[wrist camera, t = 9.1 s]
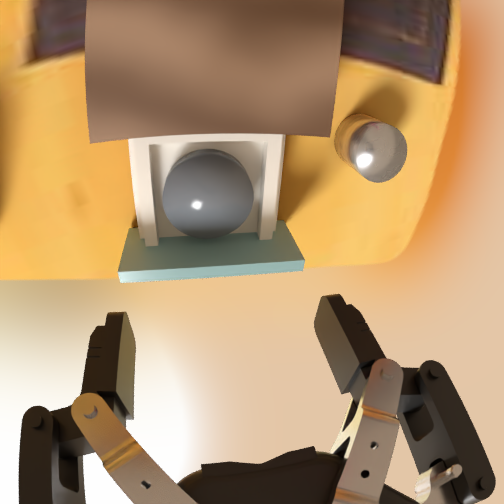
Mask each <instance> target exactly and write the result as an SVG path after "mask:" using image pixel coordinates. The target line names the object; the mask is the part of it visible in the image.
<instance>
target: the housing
mask: <svg viewBox="0 0 504 504" xmlns="http://www.w3.org/2000/svg"><path fill="white" fill-rule="evenodd" d="M343 13H344V0H87V9H86V28H85V81H86V102H87V116H88V127H89V137H90V143H98V142H106V141H114V140H123V139H133V138H144V137H156V136H171V135H191V134H284V135H304V136H319V137H330V133H331V126H332V118H333V111H334V103H335V95H336V87H337V78H338V69H339V59H340V49H341V38H342V26H343Z"/></svg>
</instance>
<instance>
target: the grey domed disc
mask: <svg viewBox="0 0 504 504" xmlns="http://www.w3.org/2000/svg"><path fill="white" fill-rule="evenodd" d="M253 201H254V191H253V186H252V183H251V181H250V178H249V176H248V174H247V172H246V170H245V168H244V166H243V165H242V164H241V163H240V162H239V160H237V159H236V158H235V157H234V156H232V155H230V154H229V153H227V152H224V151H221V150H217V149H200V150H196V151H193V152H190V153H188V154H186V155H184V156H183V157H181V158H180V159H179V160H178V161H177V162H175V164H174V165H173V166H172V167H171V169H170V171H169V172H168V175H167V177H166V181H165V185H164V190H163V196H162V202H163V208H164V211H165V214H166V216H167V218H168V219H169V221H170V222H171V223H172V225H173V226H174V227H175V228H177V229H178V230H179V231H181V232H182V233H184V234H186V235H189V236H191V237H195V238H201V239H212V238H218V237H222V236H225V235H227V234H229V233H231V232H233V231H234V230H236V229H237V228H238V227H240V226H241V225H242V224H243V223H244V221H245V220H246V219H247V217H248V216H249V214H250V212H251V209H252V206H253Z"/></svg>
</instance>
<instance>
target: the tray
mask: <svg viewBox="0 0 504 504" xmlns="http://www.w3.org/2000/svg"><path fill="white" fill-rule="evenodd" d="M285 138H286V135H284V134H191V135H171V136H156V137H144V138H133V139H128V141H129V153H130V164H131V174H132V183H133V192H134V200H135V208H136V215H137V222H138V228H129V231H128V234H127V238H126V242H125V245H124V249H123V253H122V257H121V261H120V265H119V269H118V275H119V279H120V282H121V283H125V282H126V283H127V282H145V281H163V280H181V279H197V278H212V277H226V276H241V275H255V274H267V273H281V272H293V271H303V268H304V262H305V259H304V257H303V256H302V254H301V252H300V250H299V248H298V246H297V244H296V242H295V240H294V239H293V237H292V235H291V233H290V231H289V229H288V228H287V226H286V224H285V222H284V220H277V214H278V205H279V196H280V186H281V177H282V167H283V158H284V148H285ZM200 149H217V150H221V151H224V152H227V153H229V154H230V155H232V156H234V157H235V158H236V159H237V160H239V162H240V163H241V164H242V165H243V166H244V168H245V170H246V172H247V174H248V176H249V178H250V181H251V183H252V186H253V191H254V201H253V206H252V209H251V212H250V214H249V216H248V217H247V219H246V220H245V221H244V223H243V224H242V225H241V226H240V227H238V228H237V229H236V230H234V231H233V232H231V233H229V234H227V235H225V236H222V237H218V238H212V239H201V238H195V237H191V236H189V235H186V234H184V233H182V232H181V231H179V230H178V229H177V228H175V227H174V226H173V225H172V223H171V222H170V221H169V219H168V218H167V216H166V214H165V211H164V208H163V202H162V196H163V190H164V185H165V181H166V177H167V175H168V172H169V171H170V169H171V167H172V166H173V165H174V164H175V162H177V161H178V160H179V159H180V158H181V157H183V156H184V155H186V154H188V153H190V152H193V151H196V150H200Z"/></svg>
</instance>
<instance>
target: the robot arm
mask: <svg viewBox="0 0 504 504" xmlns="http://www.w3.org/2000/svg"><path fill="white" fill-rule="evenodd" d="M314 328H315V332H316V335H317V337H318V340H319V342H320V344H321V347H322V349H323V351H324V354H325V356H326V358H327V361H328V363H329V365H330V368H331V370H332V372H333V375H334V377H335V380H336V382H337V385H338V387H339V389H340V392H341V394H344V393H348V392H350V393H351V395H352V399H351V401H350V403H349V406H348V409H347V413H346V415H345V418H344V421H343V424H342V427H341V430H340V432H339V435H338V437H337V439H336V440H335V442H334V444H333V446H332V448H331V450H330V453H326V452H319V451H315V448H314V446H312V447H308V448H304V449H299V450H295V451H291V452H287V453H285V454H283V455H280V456H278V457H276V458H274V459H271V460H269V461H267V462H264V463H262V464H251V463H239V462H221V463H212V464H201V468H202V469H201V470H198V471H196V472H193V473H191V474H189V475H188V476H186V477H184V478H183V479H182V480H181V481H179V483H177V484H176V483H175V482H174V481H173V480H172V479H171V478H170V477H169V476H168V475H167V474H166V473H165V472H164V471H163V470H162V469H161V468H160V467H159V466H158V465H157V464H156V463H155V462H154V460H153V459H152V458H151V457H150V456H149V455H148V454H147V453H146V451H145V450H144V449H143V448H142V447H141V446H140V445H139V444H138V442H137V441H136V440H135V439H134V438H133V437H132V436H131V434H130V433H129V432H128V431H127V430H126V419H129V420H131V419H132V420H133V419H134V374H135V353H136V345H135V338H134V334H133V331H132V328H131V325H130V322H129V318H128V315H127V313H126V312H110V313H108V314H107V317H106V323H105V326H97V327H96V328H95V330H94V332H93V333H92V334H91V336H90V341H89V346H88V347H89V349H88V352H87V358H86V364H85V370H84V377H83V384H82V390H81V394H80V396H79V397H77V398H76V399H75V400H74V402H73V404H72V405H70V406H68V407H65V408H61V409H58V410H54V411H50V412H49V410H47V409H46V408H45V407H42V406H33V407H31V408H29V409H28V410H27V411H26V412H25V414H24V416H23V419H22V427H21V438H20V452H19V504H86V501H85V490H84V475H83V455H86V454H90V453H94V452H96V453H97V455H98V456H99V457H100V459H101V460H102V462H103V466H104V468H105V469H106V470H107V472H108V473H109V475H110V476H111V477H112V478H113V480H114V481H115V482H116V483H117V485H118V486H119V487H120V488H121V489H122V490H123V492H124V493H125V494H126V495H127V496H128V497H129V499H130V500H131V501H132V502H133V503H134V504H474V503H477V502H479V501H482V500H484V499H486V498H488V497H489V496H490V495H491V494H492V492H493V490H494V488H495V481H496V480H495V476H494V473H493V470H492V468H491V465H490V463H489V460H488V458H487V455H486V453H485V450H484V448H483V446H482V443H481V441H480V439H479V437H478V435H477V432H476V430H475V428H474V425H473V423H472V421H471V419H470V417H469V415H468V413H467V411H466V409H465V407H464V405H463V402H462V400H461V398H460V397H459V395H458V393H457V391H456V389H455V387H454V385H453V383H452V381H451V379H450V377H449V375H448V374H447V372H446V370H445V368H444V367H443V366H442V365H441V364H440V363H439V362H436V361H433V360H429V361H425V362H424V363H423V364H422V365H421V366H420V368H404V367H400V365H399V364H398V363H397V362H395V361H393V360H391V359H387V358H386V357H385V355H384V353H383V351H382V350H381V348H380V346H379V344H378V342H377V341H376V339H375V337H374V335H373V333H372V332H371V330H370V328H369V327H368V325H367V323H365V319H364V318H363V316H362V314H361V313H360V311H359V310H357V309H356V308H355V307H354V306H353V305H352V304H349V305H346V303H345V301H344V299H343V298H342V296H341V295H340V294H334V295H327V296H322V297H321V300H320V303H319V306H318V310H317V313H316V317H315V321H314ZM396 414H397V417H398V418H396ZM399 424H401V426H402V429H403V432H404V434H405V437H406V440H407V442H408V445H409V448H410V450H411V453H412V456H413V458H414V461H415V464H416V466H417V469H418V472H419V475H420V476H419V477H418V479H417V482H416V486H415V493H416V494H417V497H416V500H414V499H412V498H410V497H408V496H406V495H404V494H402V493H400V492H398V491H397V490H395V489H393V488H391V487H389V486H388V485H386V484H384V482H385V478H386V475H387V472H388V468H389V465H390V461H391V458H392V454H393V450H394V446H395V442H396V438H397V433H398V429H399Z"/></svg>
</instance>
